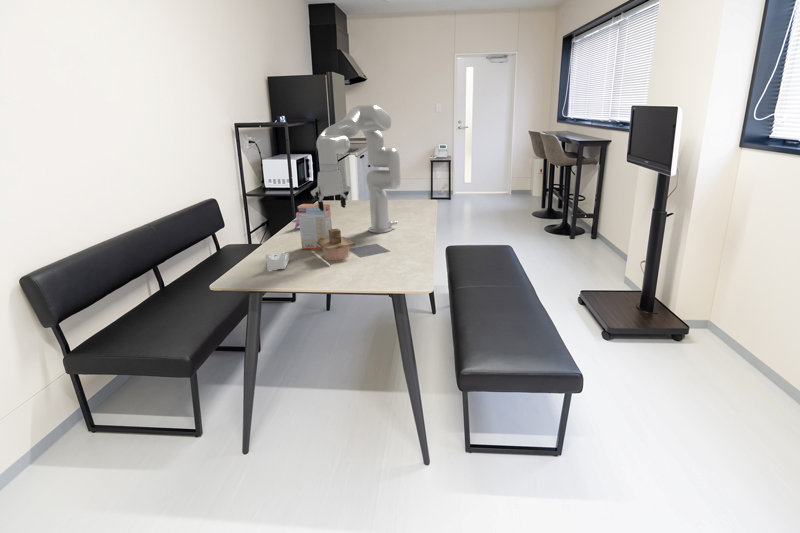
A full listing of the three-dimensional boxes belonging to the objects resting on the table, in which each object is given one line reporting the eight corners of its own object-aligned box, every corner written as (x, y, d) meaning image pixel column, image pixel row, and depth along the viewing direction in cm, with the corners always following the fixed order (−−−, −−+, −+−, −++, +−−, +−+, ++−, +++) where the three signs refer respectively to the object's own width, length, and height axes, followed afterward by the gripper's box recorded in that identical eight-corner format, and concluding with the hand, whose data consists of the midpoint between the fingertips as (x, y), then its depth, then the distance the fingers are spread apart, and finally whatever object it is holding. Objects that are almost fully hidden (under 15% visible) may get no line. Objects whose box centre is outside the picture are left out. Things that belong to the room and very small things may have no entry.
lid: (343, 238, 213) (342, 224, 210) (355, 245, 202) (354, 230, 200) (316, 243, 207) (315, 229, 205) (326, 250, 196) (325, 235, 194)
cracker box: (334, 247, 221) (330, 204, 214) (328, 251, 215) (324, 206, 209) (308, 245, 225) (303, 203, 218) (301, 249, 220) (296, 205, 213)
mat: (376, 244, 223) (376, 243, 222) (390, 252, 210) (390, 251, 210) (347, 250, 216) (347, 248, 216) (360, 258, 204) (359, 257, 203)
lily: (319, 228, 261) (313, 212, 262) (312, 225, 249) (307, 208, 250) (299, 235, 262) (294, 219, 263) (292, 232, 250) (286, 216, 251)
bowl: (343, 252, 213) (342, 239, 211) (352, 258, 204) (352, 245, 202) (320, 256, 209) (319, 243, 207) (329, 263, 199) (327, 249, 197)
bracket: (285, 270, 193) (283, 253, 190) (267, 271, 193) (265, 254, 190) (289, 260, 205) (287, 244, 203) (273, 261, 205) (271, 245, 202)
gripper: (345, 165, 200) (348, 204, 206) (306, 169, 193) (310, 210, 199) (351, 167, 194) (354, 207, 200) (311, 171, 187) (316, 213, 192)
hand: (332, 208), depth 199 cm, fingers open, 9 cm apart
